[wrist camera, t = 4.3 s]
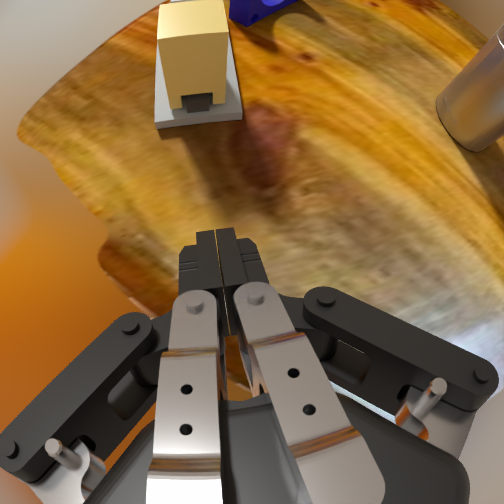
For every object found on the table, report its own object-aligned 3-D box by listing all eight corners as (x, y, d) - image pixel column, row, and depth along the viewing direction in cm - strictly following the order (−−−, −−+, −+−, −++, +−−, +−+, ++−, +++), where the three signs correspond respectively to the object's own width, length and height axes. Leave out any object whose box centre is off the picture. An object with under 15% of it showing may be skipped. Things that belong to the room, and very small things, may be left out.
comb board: (225, 22, 31) (226, -9, 26) (241, 119, 28) (246, 84, 23) (159, 29, 30) (155, -2, 25) (156, 129, 27) (146, 95, 22)
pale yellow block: (220, 66, 27) (222, -2, 19) (225, 103, 26) (228, 31, 18) (170, 72, 27) (159, 4, 18) (170, 109, 26) (157, 39, 17)
